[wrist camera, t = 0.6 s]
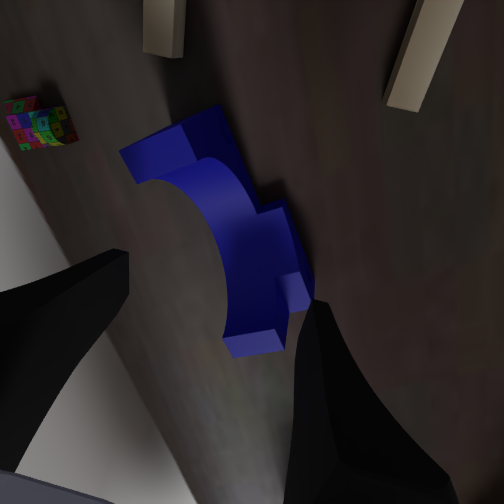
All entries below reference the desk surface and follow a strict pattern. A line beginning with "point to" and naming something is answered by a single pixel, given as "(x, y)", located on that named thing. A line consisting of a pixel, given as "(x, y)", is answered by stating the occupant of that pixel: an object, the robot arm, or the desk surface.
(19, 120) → the multicolored checkered block
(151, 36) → the channel
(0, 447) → the robot arm
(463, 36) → the desk surface
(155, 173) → the cable clip
